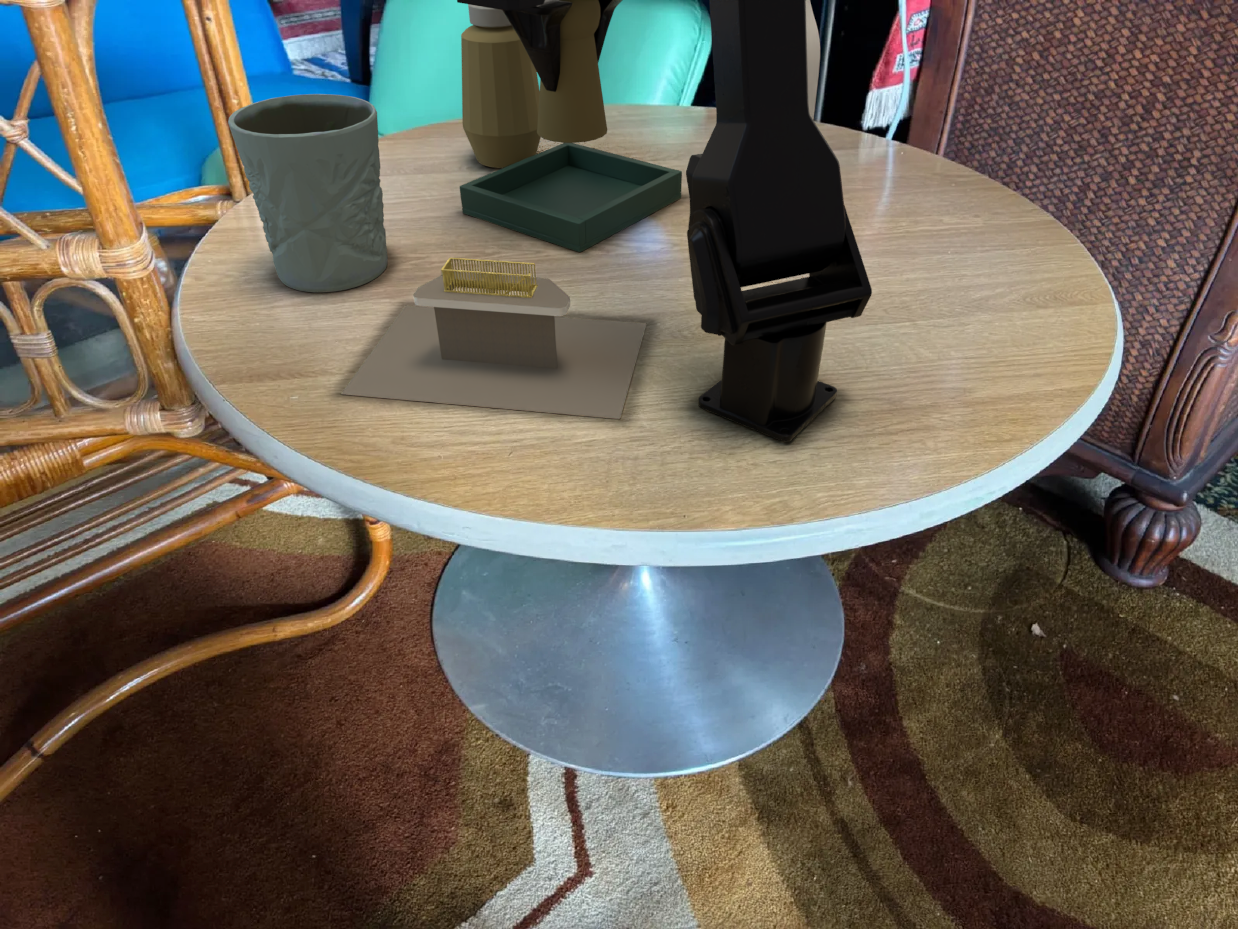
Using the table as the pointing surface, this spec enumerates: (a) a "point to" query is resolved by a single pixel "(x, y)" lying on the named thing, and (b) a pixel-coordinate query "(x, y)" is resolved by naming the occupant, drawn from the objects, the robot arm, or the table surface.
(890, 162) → the table surface
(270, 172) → the embossed green cup
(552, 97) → the brown game pawn
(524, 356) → the platform
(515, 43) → the squeeze bottle
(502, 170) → the serving tray
